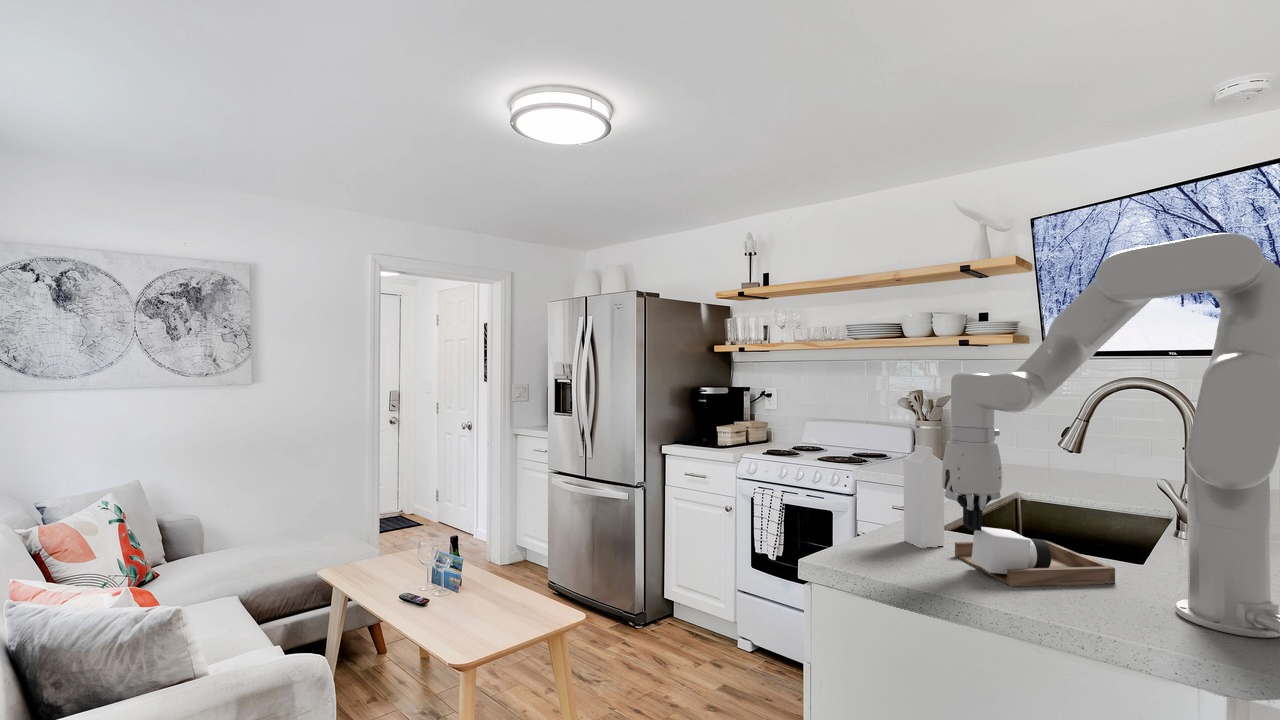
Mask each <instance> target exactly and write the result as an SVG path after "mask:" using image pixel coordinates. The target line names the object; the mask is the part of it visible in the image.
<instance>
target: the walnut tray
mask: <svg viewBox="0 0 1280 720" xmlns="http://www.w3.org/2000/svg"><path fill="white" fill-rule="evenodd" d="M1042 540H1043V541H1044V542H1045V543H1046V544H1047V545H1048V546H1049V548H1050V551H1051V564H1050V567H1049V568H1028V569H1007V575H1004V574H995V573H989V572H988V571H986V570H984V569H983V568H981V567H980V566H978V565H977V564H975V563H974V562H972V561H971V558H972V549H973V541H960V542H959V541H958V542H956V541H955V542H954V557H956V556H957V557H956V558H958V557H959V558H961V559H963V560H964V561H963V560H962V561H963V562H965V561H966V562H965V563H967V562H968V563H967V564H969V563H970V564H972V565H974V566H975V567H974V566H973V567H974V568H976V567H977V568H976V569H978V570H979V569H980V571H981V570H982V571H981V572H983V571H984V573H985V572H986V573H985V574H987V573H988V574H990V575H992V576H993V578H994V577H995V578H994V579H996V578H997V579H996V580H998V579H999V580H1001V581H1002V582H1001V581H1000V582H1001V583H1003V582H1004V583H1003V584H1005V583H1006V584H1005V585H1007V584H1008V585H1010V586H1021V587H1039V586H1038V585H1057V586H1082V585H1081V584H1083V586H1085V585H1086V586H1087V585H1089V586H1090V584H1094V585H1101V584H1100V583H1109V584H1108V585H1111V584H1110V583H1115V584H1116V567H1113V566H1111V565H1108V564H1106V563H1103V562H1101V561H1099V560H1096V559H1094V558H1091V557H1089V556H1086V555H1083V554H1081V553H1078V552H1076V551H1073V550H1071V549H1069V548H1065V547H1064V546H1061V545H1059V544H1056V543H1054V542H1052V541H1049V540H1046V539H1042ZM959 558H958V559H959ZM961 559H960V560H961ZM970 564H969V565H970ZM972 565H971V566H972ZM988 574H987V575H988ZM990 575H989V576H990ZM992 576H991V577H992ZM999 580H998V581H999ZM1008 585H1007V586H1008ZM1010 586H1009V587H1010Z"/></svg>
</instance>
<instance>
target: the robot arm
mask: <svg viewBox="0 0 1280 720" xmlns="http://www.w3.org/2000/svg"><path fill="white" fill-rule="evenodd" d="M1199 293H1208V294H1211V295H1213V296H1214V297H1215V298H1216V300H1217V301H1218V304H1219V307H1220V314H1219V319H1218V323H1217V329H1216V336H1215V340H1214V345H1213V349H1212V353H1211V357H1210V361H1209V363H1208V366H1207V368H1206V369H1205V371H1204V373H1203V376H1202V378H1201V384H1200V389H1199V394H1198V398H1197V403H1196V406H1195V407H1196V408H1195V412H1194V416H1193V420H1192V421H1193V422H1192V426H1191V429H1190V434H1189V437H1188V439H1187V442H1186V446H1185V455H1186V457H1185V458H1186V469H1187V470H1186V473H1187V474H1186V475H1187V477H1186V478H1187V479H1186V481H1187V490H1186V491H1187V493H1186V494H1187V497H1186V498H1187V599H1186V598H1185V599H1180V600H1179V601H1176V602H1175V607H1174V608H1175V612H1176V613H1177V614H1178V616H1180V617H1182V618H1183V619H1184V620H1187V621H1189V622H1192V623H1193V624H1196V625H1199V626H1200V627H1201V626H1202V627H1205V628H1207V629H1211V630H1215V631H1219V632H1223V633H1227V634H1232V635H1236V636H1242V637H1243V636H1244V637H1249V638H1250V637H1251V638H1261V639H1263V638H1264V639H1265V638H1268V639H1270V638H1278V637H1280V614H1279V603H1276V602H1273V601H1272V600H1271V598H1272V597H1271V596H1272V595H1271V594H1272V593H1271V591H1272V590H1271V588H1272V587H1271V585H1272V584H1271V582H1272V581H1271V578H1272V577H1271V575H1272V574H1271V528H1272V526H1271V521H1272V520H1271V517H1272V516H1271V514H1272V513H1271V483H1270V482H1271V481H1270V475H1271V474H1272V472H1273V471H1274V467H1275V464H1276V462H1277V459H1278V458H1277V457H1278V454H1279V451H1280V267H1279V266H1278V265H1277V264H1276V263H1274V262H1272V261H1271V260H1270V259H1268V258H1266V257H1265V256H1264V252H1263V250H1262V249H1261V247H1260V245H1259V244H1258V242H1256V241H1255V240H1253V239H1252V238H1251V237H1249V236H1246V235H1244V234H1241V233H1234V232H1219V233H1212V234H1207V235H1199V236H1196V237H1189V238H1185V239H1180V240H1174V241H1169V242H1168V241H1167V242H1163V243H1158V244H1153V245H1152V244H1151V245H1148V246H1147V245H1146V246H1141V247H1140V246H1139V247H1135V248H1129V249H1125V250H1122V251H1117V252H1115V253H1113V254H1111V255H1110V256H1107V258H1105V259H1104V260H1103V261H1102V262H1101V263H1100V265H1099V266H1098V267H1097V270H1096V273H1095V278H1094V279H1093V280H1092V281H1091V282H1090V283H1089V284H1088V285H1087V286H1086V288H1085V289H1083V291H1082V292H1080V293H1079V294H1078V296H1076V297H1075V298H1074V300H1072V301H1071V302H1070V304H1067V305H1068V306H1066V307H1065V308H1064V309H1063V310H1062V311H1061V312H1060V313H1058V315H1057V316H1056V317H1055V319H1053V320H1052V323H1051V324H1050V327H1049V328H1048V331H1047V333H1046V336H1045V338H1044V339H1043V341H1042V342H1041V344H1040V345H1039V346H1038V348H1037V349H1036V350H1035V351H1034V352H1033V353H1032V354H1031V355H1030V356H1029V357H1028V358H1027V359H1026V360H1025V361H1024V362H1023V363H1022V364H1021V366H1019V367H1018V368H1017V369H1016V370H1015V371H1012V372H1006V373H1004V372H1003V373H998V374H997V373H996V374H989V373H985V372H960V373H959V372H957V373H955V374H953V376H952V378H951V380H950V420H951V422H950V423H951V424H950V425H951V426H950V437H951V438H950V441H946V444H945V449H944V454H943V459H942V461H943V467H942V487H943V488H944V490H945V491H944V498H946V499H948V500H952V501H956V502H957V504H959V506H960V507H961V508H962V523H963V526H964V528H966V529H968V530H970V531H973V532H974V531H976V530H977V531H981V527H982V525H983V511H984V510H986V507H987V505H988V504H990V502H992V501H995V500H998V499H1000V498H1001V497H1002V496H1001V492H1002V489H1003V469H1002V459H1001V454H1000V449H999V446H998V443H997V442H995V439H996V437H999V436H1000V434H1001V433H1000V432H1001V431H1000V430H999V429H996V427H995V411H999V412H1004V413H1011V414H1012V413H1013V414H1016V413H1017V414H1018V413H1022V412H1026V411H1030V410H1032V409H1035V408H1037V407H1039V406H1041V404H1042V403H1044V402H1045V401H1046V400H1047V399H1048V398H1049V397H1050V396H1051V395H1052V394H1054V393H1055V391H1057V390H1058V389H1059V388H1060V387H1061V386H1062V385H1063V384H1064V383H1065V382H1066V381H1067V380H1068V379H1069V378H1071V376H1072V375H1073V374H1074V373H1075V372H1076V371H1077V370H1078V369H1079V368H1081V366H1082V365H1083V364H1085V363H1087V361H1089V359H1091V358H1092V357H1093V356H1094V355H1095V354H1096V353H1097V352H1098V351H1099V350H1100V349H1101V348H1102V347H1103V346H1104V345H1105V344H1106V343H1107V342H1108V341H1109V340H1110V339H1112V338H1113V336H1114V335H1116V333H1117V332H1119V330H1121V329H1122V328H1123V327H1124V326H1125V325H1126V324H1127V323H1128V322H1129V321H1130V320H1131V319H1133V317H1135V316H1136V315H1138V313H1139V312H1140V311H1141V310H1143V309H1144V307H1145V306H1147V305H1148V304H1149V303H1150V302H1151V301H1152V300H1153V299H1161V298H1162V299H1163V298H1168V297H1170V298H1171V297H1177V296H1178V297H1179V296H1185V295H1191V294H1193V295H1194V294H1199Z"/></svg>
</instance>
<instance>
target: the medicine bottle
mask: <svg viewBox="0 0 1280 720" xmlns="http://www.w3.org/2000/svg"><path fill="white" fill-rule="evenodd" d="M1043 540H1044V539H1041V538H1040V539H1039V538H1030V537H1025V536H1023V535H1021V534H1019V533H1017V532H1016V531H1012V530H1011V529H1005V528H1004V529H1003V528H996V527H995V528H994V527H988V526H987V527H986V526H981V531H977V530H976V531H973V541H972V542H973V549H972V558H971V561H972V562H974V563H975V564H977V565H978V566H980V567H981V568H983V569H984V570H986V571H988V572H989V573H995V574H1004V575H1007V569H1028V568H1049V567H1050V564H1051V551H1050V548H1049V546H1048V545H1047V544H1046V543H1045V542H1044V541H1043Z"/></svg>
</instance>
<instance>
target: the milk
mask: <svg viewBox="0 0 1280 720" xmlns="http://www.w3.org/2000/svg"><path fill="white" fill-rule="evenodd" d="M933 454H934V453H933V448H932V447H929V446H925V445H920V444H915V445H914V451H913V452H912V453H910V454H909V455H907V456H905V457H904V458H903V541H904V542H905V541H906V543H907V544H910V545H912V544H913V546H914V545H915V547H917V548H919V549H928V548H927V547H933V548H939V547H938V546H944V547H945V489H944V488H943V487H942V467H943V459H940V458H939V457H937V456H935V455H933Z"/></svg>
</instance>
